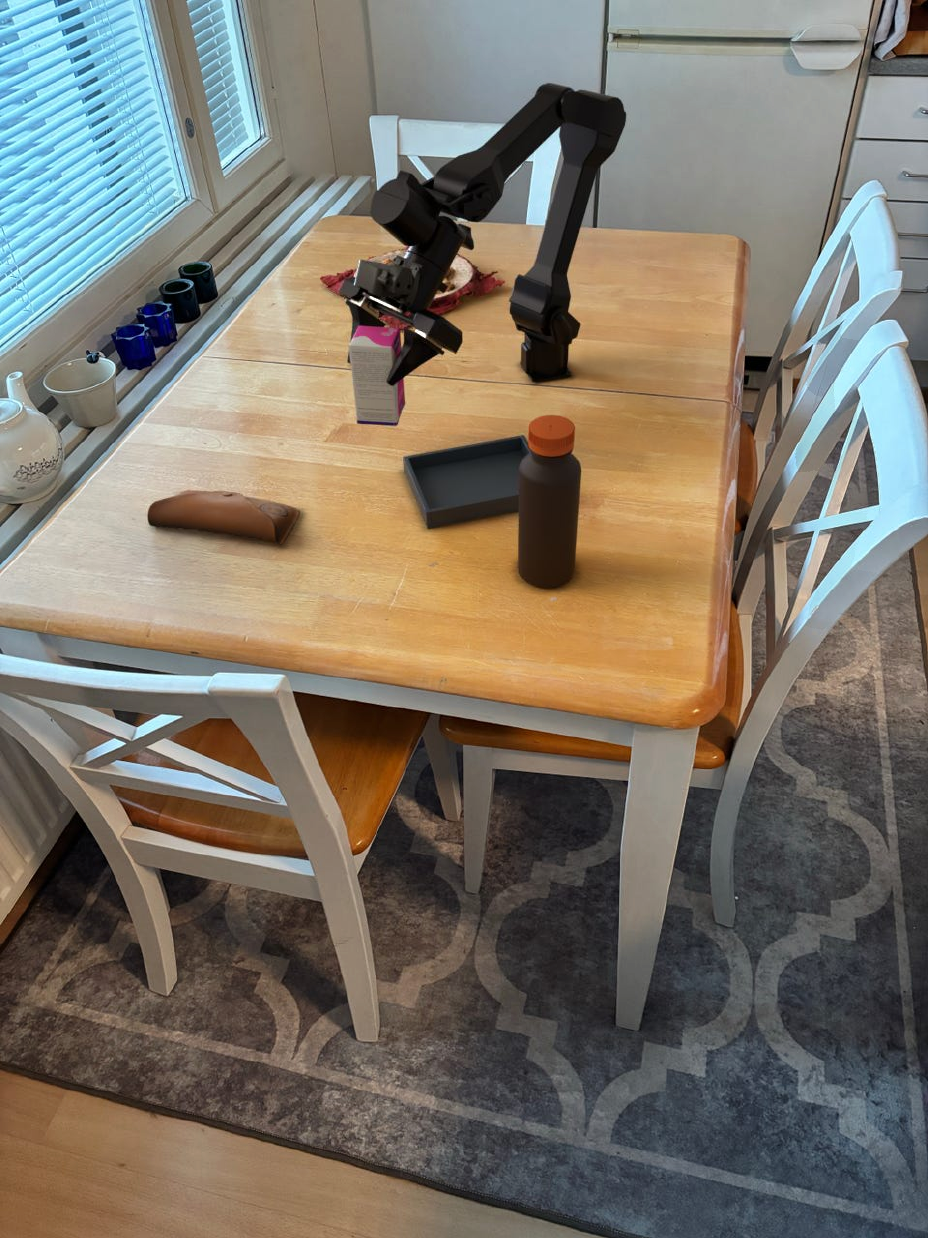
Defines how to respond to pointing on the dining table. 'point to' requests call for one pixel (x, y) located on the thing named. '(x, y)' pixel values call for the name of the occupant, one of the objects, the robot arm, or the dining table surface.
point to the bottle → (548, 503)
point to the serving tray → (467, 480)
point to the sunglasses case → (225, 515)
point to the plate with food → (458, 281)
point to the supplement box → (376, 375)
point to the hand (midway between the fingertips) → (369, 373)
